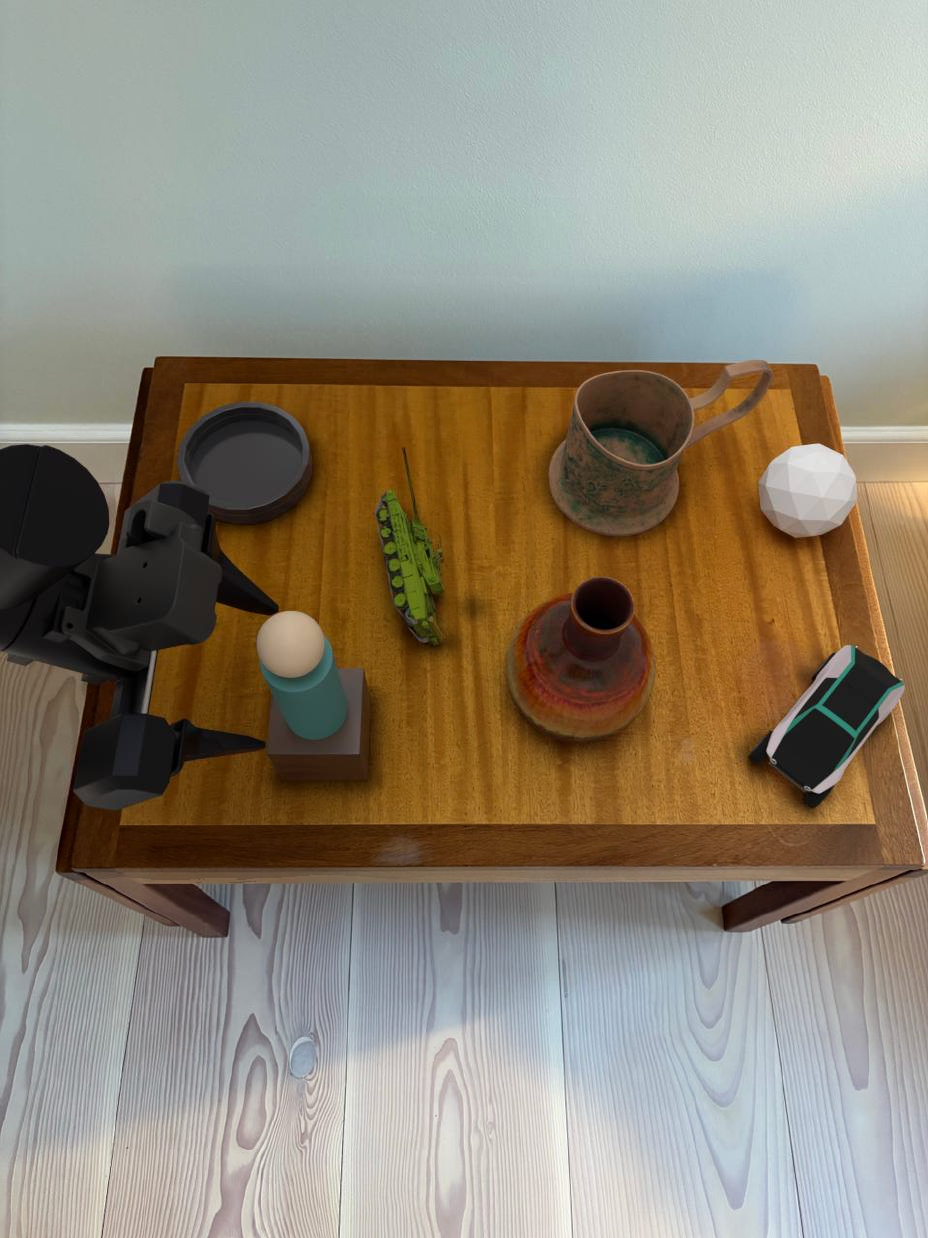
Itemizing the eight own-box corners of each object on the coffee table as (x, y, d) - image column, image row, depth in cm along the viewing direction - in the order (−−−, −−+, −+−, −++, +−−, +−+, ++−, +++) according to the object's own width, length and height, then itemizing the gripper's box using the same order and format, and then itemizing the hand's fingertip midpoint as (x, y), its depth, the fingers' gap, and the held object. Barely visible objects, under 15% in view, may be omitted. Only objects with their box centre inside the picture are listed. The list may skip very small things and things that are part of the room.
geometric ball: (763, 551, 73) (728, 494, 79) (844, 560, 76) (805, 504, 81) (809, 475, 69) (768, 420, 74) (895, 487, 71) (849, 432, 76)
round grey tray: (308, 525, 77) (304, 510, 75) (177, 524, 77) (169, 508, 74) (316, 420, 82) (313, 402, 79) (193, 418, 81) (186, 400, 79)
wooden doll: (345, 740, 62) (322, 667, 49) (281, 740, 61) (242, 666, 49) (349, 680, 63) (327, 595, 51) (287, 680, 63) (250, 595, 51)
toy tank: (370, 633, 67) (499, 597, 66) (334, 432, 75) (448, 398, 74) (394, 665, 73) (512, 633, 72) (358, 476, 81) (464, 446, 80)
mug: (761, 500, 79) (812, 414, 68) (575, 551, 76) (597, 470, 65) (707, 400, 84) (747, 304, 73) (530, 444, 81) (544, 352, 70)
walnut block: (367, 781, 67) (359, 754, 61) (282, 780, 67) (265, 754, 61) (371, 701, 70) (364, 667, 64) (289, 700, 70) (274, 667, 64)
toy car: (889, 703, 71) (922, 679, 66) (806, 813, 67) (835, 796, 62) (827, 656, 73) (854, 630, 68) (742, 761, 69) (765, 741, 64)
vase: (655, 745, 69) (710, 672, 55) (515, 766, 68) (534, 696, 54) (623, 617, 74) (665, 519, 60) (491, 635, 73) (503, 539, 59)
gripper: (49, 738, 37) (341, 801, 48) (120, 385, 45) (357, 503, 56) (-46, 785, 45) (226, 831, 55) (30, 472, 52) (255, 563, 63)
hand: (269, 676), depth 57 cm, fingers open, 9 cm apart
